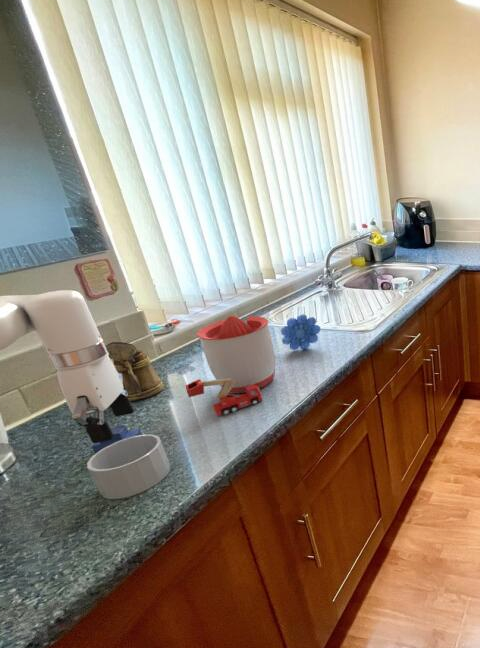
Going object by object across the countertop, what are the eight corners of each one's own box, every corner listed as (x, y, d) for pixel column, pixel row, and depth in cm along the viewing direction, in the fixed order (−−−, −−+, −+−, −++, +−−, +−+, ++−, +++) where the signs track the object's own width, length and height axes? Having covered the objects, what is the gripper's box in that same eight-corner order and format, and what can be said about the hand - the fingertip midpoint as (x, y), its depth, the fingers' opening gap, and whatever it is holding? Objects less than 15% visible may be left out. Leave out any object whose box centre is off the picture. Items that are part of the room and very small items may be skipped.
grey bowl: (89, 506, 71) (74, 477, 69) (115, 469, 80) (103, 442, 78) (160, 489, 75) (148, 461, 73) (178, 455, 84) (168, 429, 81)
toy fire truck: (264, 401, 102) (255, 367, 99) (198, 424, 93) (186, 388, 90) (260, 396, 105) (251, 363, 101) (196, 418, 96) (183, 383, 92)
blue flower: (325, 341, 137) (318, 308, 132) (323, 349, 131) (316, 315, 126) (287, 346, 133) (279, 312, 129) (283, 355, 127) (275, 319, 123)
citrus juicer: (282, 362, 122) (266, 300, 115) (281, 389, 108) (264, 319, 101) (220, 374, 116) (200, 309, 108) (211, 404, 101) (187, 331, 94)
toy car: (96, 457, 83) (88, 439, 82) (104, 447, 86) (96, 430, 85) (137, 448, 86) (130, 431, 84) (144, 439, 89) (137, 422, 87)
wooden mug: (114, 414, 98) (85, 347, 91) (123, 390, 108) (97, 329, 101) (161, 402, 103) (136, 338, 96) (165, 380, 113) (143, 321, 106)
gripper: (78, 340, 84) (111, 409, 91) (25, 378, 69) (69, 457, 76) (123, 334, 87) (152, 401, 93) (81, 369, 72) (119, 446, 78)
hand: (115, 426), depth 85 cm, fingers open, 9 cm apart
